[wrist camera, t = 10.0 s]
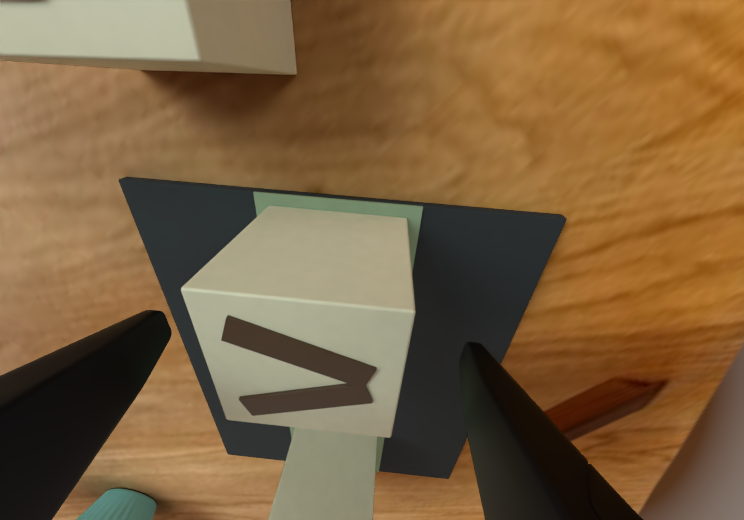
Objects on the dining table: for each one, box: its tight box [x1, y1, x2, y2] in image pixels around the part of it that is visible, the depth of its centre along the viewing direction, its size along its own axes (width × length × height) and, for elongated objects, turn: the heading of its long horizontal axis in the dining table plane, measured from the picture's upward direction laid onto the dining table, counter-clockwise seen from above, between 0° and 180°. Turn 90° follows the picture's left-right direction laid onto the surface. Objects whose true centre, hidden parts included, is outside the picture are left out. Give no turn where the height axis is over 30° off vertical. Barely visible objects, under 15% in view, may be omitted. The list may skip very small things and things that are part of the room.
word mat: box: [119, 177, 566, 479], centre depth 15 cm, size 16×20×1 cm
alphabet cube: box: [268, 427, 377, 520], centre depth 17 cm, size 5×5×5 cm
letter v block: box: [181, 206, 416, 438], centre depth 9 cm, size 5×5×5 cm
